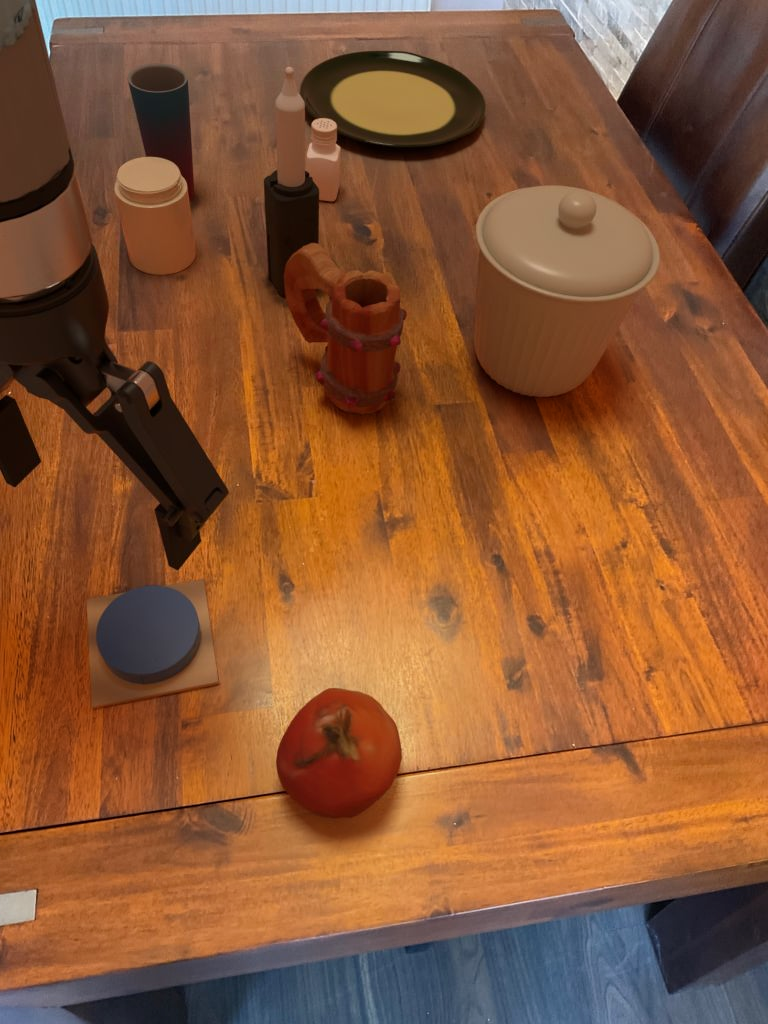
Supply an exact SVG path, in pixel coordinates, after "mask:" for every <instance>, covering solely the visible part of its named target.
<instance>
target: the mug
mask: <svg viewBox="0 0 768 1024" xmlns="http://www.w3.org/2000/svg"><path fill="white" fill-rule="evenodd" d="M284 286H285V294H286V297H285V299H286V302H287V305H288V309H289V312H290V314H291V317H292V319H293V321H294V323H295V325H296V327H297V329H298V330H299V333H300V334H301V336H302V337H303V338H304V341H306V342H307V343H309V344H311V343H327V345H326V346H325V348H324V353H323V355H322V358H321V363H320V370H318V371H317V372H316V374H315V381H316V382H317V383H319V384H321V385H323V388H324V392H325V394H326V395H327V397H328V398H329V399H330V401H331V402H332V404H333V405H335V406H336V407H337V408H338V409H340V410H341V411H343V412H345V413H352V414H371V413H374V412H377V411H379V410H381V409H383V407H384V406H385V405H386V404H387V403H388V402H392V401H394V399H395V398H396V393H395V392H394V391H395V389H396V387H397V382H398V378H399V377H398V376H399V373H400V372H401V369H402V366H401V365H400V363H399V362H397V361H395V360H396V353H397V349H398V346H400V344H401V343H402V341H401V340H402V339H401V337H402V335H403V330H404V329H403V328H404V322H405V320H406V318H407V316H408V314H407V313H408V312H407V310H405V309H404V308H402V307H401V306H400V305H401V291H400V288H399V286H398V285H397V284H393V283H392V279H391V278H390V277H389V276H388V275H386V274H385V273H382V272H379V271H377V270H373V269H372V270H371V269H369V270H368V271H366V272H362V271H360V270H359V269H355V270H351V271H348V272H344V271H342V270H341V269H339V267H338V266H336V264H335V262H334V261H333V260H332V258H331V257H330V255H329V253H328V252H327V251H326V250H325V248H324V247H323V246H322V245H320V244H317V243H310V244H308V245H306V246H303V247H302V248H301V249H299V250H298V251H297V252H295V253H294V254H293V255H292V256H291V257H290V259H289V260H288V262H287V264H286V266H285V273H284ZM317 290H321V291H322V292H323V293H324V294H326V295H327V296H328V302H327V303H326V305H325V312H324V310H323V309H322V307H321V303H320V301H319V299H318V297H317Z"/></svg>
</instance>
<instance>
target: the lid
mask: <svg viewBox="0 0 768 1024" xmlns="http://www.w3.org/2000/svg"><path fill="white" fill-rule="evenodd" d="M165 586H166V585H157V584H151V585H142V586H137V587H134V588H131V589H130V590H126V591H125V593H124V592H122V593H123V594H122V595H120V596H118V597H117V598H116V599H115V600H113V601H112V602H111V603H110V604H109V605H108V606H107V608H106V609H105V610H104V612H103V613H102V615H101V617H100V619H99V622H98V625H97V630H96V642H97V646H98V649H99V652H100V654H101V656H102V658H103V660H104V662H105V664H106V665H107V667H108V668H109V669H110V670H111V671H112V672H113V673H114V674H115V675H116V676H118V677H119V678H121V679H123V680H126V681H129V682H132V683H138V684H143V685H144V684H151V683H157V682H161V681H164V680H167V679H169V678H171V677H173V676H175V675H177V674H178V673H179V672H181V671H182V670H183V669H184V668H185V667H187V666H188V664H189V663H190V662H191V661H192V659H193V658H194V656H195V655H196V653H197V651H198V648H199V645H200V640H201V628H200V624H199V619H198V615H197V612H196V609H195V607H194V606H193V604H192V602H191V601H190V600H189V599H188V598H187V597H186V596H185V595H184V594H182V593H180V592H179V591H177V590H175V589H172V588H169V587H165Z"/></svg>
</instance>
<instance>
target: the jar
mask: <svg viewBox="0 0 768 1024" xmlns="http://www.w3.org/2000/svg"><path fill="white" fill-rule="evenodd" d="M113 187H114V188H113V189H114V194H115V199H116V205H117V210H118V213H119V219H120V222H121V228H122V232H123V237H124V241H125V246H126V252H127V255H128V260H129V262H130V264H131V265H132V266H133V267H134V268H135V269H137V270H138V271H140V272H143V273H146V274H150V275H156V276H165V275H173V274H177V273H180V272H182V271H183V270H185V269H187V268H189V267H190V266H191V265H192V264H193V263H194V261H195V259H196V256H197V249H196V242H195V241H196V240H195V234H194V225H193V219H192V211H191V202H190V201H189V195H188V187H187V183H186V181H185V179H184V178H183V177H182V176H181V173H180V170H179V168H178V167H177V166H176V165H175V164H174V163H173V162H171V161H169V160H166V159H163V158H158V157H146V156H142V157H141V156H140V157H137V158H133V159H130V160H128V161H126V162H125V163H123V164H122V165H121V166H120V167H119V169H118V170H117V172H116V181H115V183H114V186H113Z"/></svg>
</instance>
